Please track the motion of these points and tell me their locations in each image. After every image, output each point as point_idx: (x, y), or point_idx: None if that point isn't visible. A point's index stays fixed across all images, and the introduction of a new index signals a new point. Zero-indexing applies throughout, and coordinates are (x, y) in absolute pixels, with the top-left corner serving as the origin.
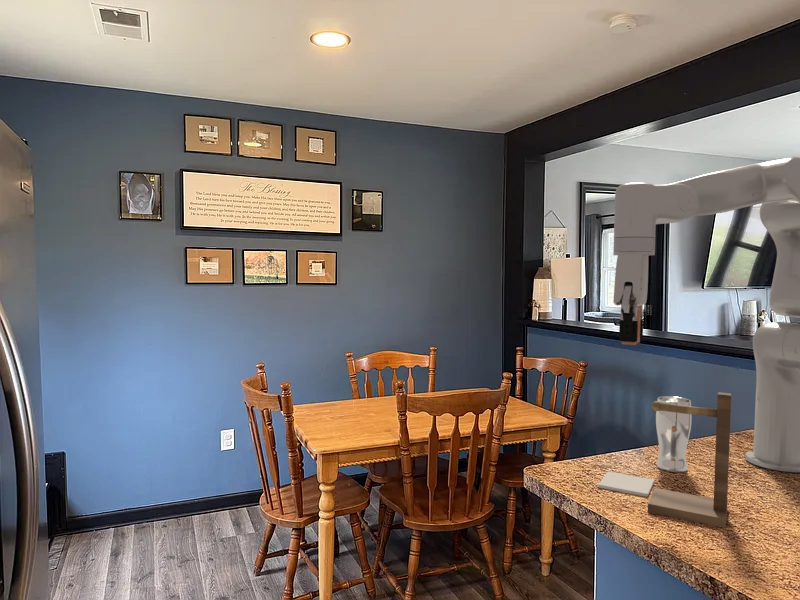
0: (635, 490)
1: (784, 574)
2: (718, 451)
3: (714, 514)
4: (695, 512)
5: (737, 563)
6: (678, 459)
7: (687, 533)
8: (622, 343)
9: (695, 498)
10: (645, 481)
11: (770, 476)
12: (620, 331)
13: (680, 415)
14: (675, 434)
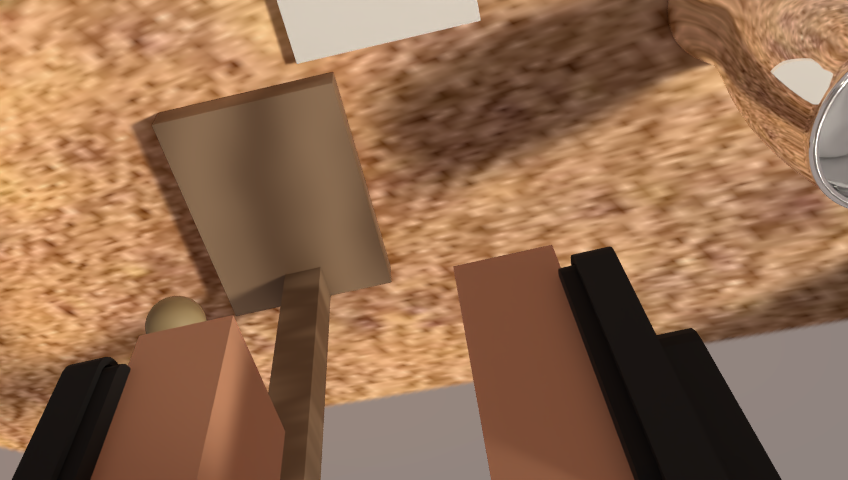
0: (294, 15)
1: None
2: None
3: (245, 287)
4: (212, 249)
5: (48, 367)
6: (703, 56)
7: (109, 246)
8: (139, 349)
9: (336, 214)
10: (431, 2)
11: (819, 275)
12: (27, 472)
13: (778, 154)
14: (730, 92)
